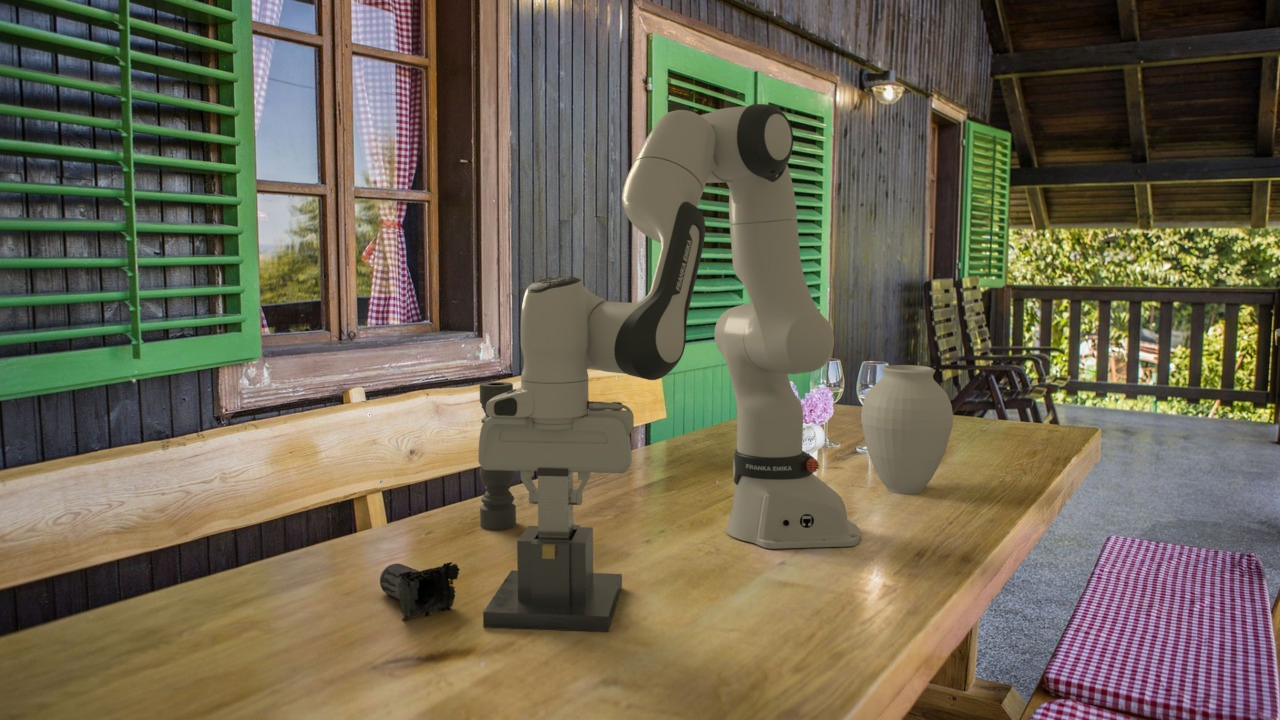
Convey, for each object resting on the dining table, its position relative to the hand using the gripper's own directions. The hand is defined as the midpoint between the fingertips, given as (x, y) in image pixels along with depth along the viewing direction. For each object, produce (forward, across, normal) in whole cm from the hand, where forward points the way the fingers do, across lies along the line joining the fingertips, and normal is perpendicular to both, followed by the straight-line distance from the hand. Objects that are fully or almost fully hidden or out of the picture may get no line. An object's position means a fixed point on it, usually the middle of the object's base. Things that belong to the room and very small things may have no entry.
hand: (555, 503), depth 125 cm
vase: (+14, -59, -70) cm, 93 cm away
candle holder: (+14, +17, -37) cm, 43 cm away
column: (+12, 0, 0) cm, 12 cm away
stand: (+14, 0, 0) cm, 14 cm away
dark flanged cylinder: (+15, +20, +1) cm, 25 cm away
